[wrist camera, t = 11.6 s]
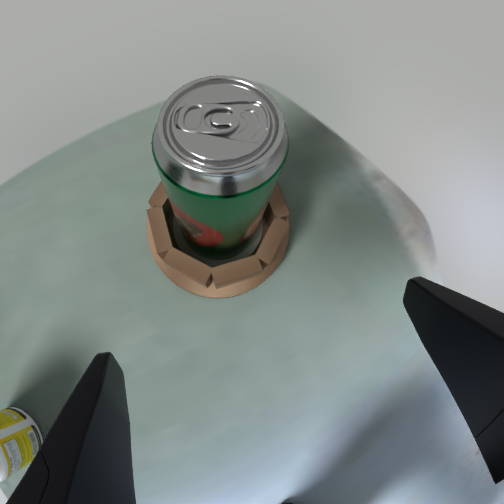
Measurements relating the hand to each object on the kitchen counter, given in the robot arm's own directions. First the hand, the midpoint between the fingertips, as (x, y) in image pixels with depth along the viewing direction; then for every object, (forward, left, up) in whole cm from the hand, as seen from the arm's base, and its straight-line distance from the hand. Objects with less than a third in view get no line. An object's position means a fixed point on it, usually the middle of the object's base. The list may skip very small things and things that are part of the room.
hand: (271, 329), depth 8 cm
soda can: (+4, -5, -12) cm, 14 cm away
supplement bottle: (+12, +18, -13) cm, 25 cm away
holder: (+5, -5, -13) cm, 15 cm away
